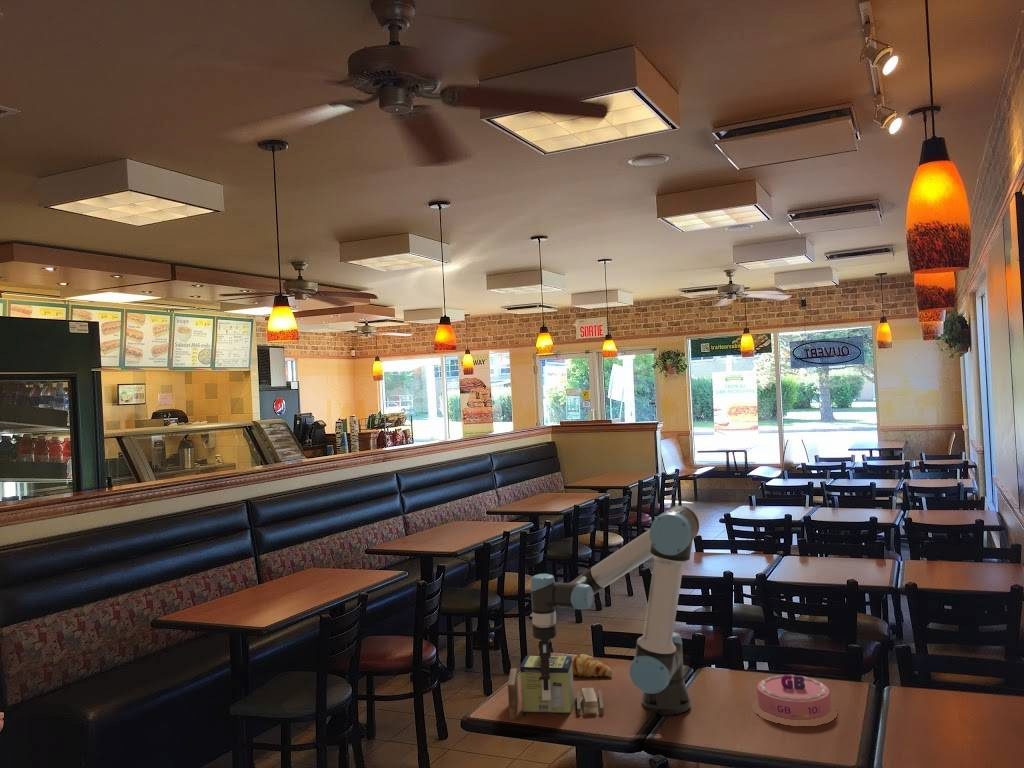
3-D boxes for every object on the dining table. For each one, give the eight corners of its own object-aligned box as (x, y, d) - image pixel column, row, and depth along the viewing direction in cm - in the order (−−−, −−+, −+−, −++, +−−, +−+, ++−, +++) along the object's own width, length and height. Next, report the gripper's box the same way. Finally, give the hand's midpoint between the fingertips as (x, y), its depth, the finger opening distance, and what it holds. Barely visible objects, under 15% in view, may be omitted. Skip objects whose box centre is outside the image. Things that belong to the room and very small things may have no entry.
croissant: (616, 684, 279) (619, 661, 282) (605, 680, 271) (609, 655, 274) (561, 675, 289) (565, 652, 292) (550, 670, 281) (554, 647, 285)
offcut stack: (596, 697, 257) (595, 686, 257) (597, 713, 245) (597, 701, 245) (582, 698, 257) (581, 687, 257) (583, 713, 245) (582, 701, 245)
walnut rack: (601, 699, 257) (599, 665, 257) (603, 717, 243) (601, 681, 243) (512, 702, 259) (510, 668, 259) (509, 720, 245) (507, 684, 245)
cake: (751, 724, 234) (749, 688, 234) (751, 692, 258) (749, 659, 258) (843, 730, 227) (840, 693, 227) (833, 696, 251) (831, 662, 251)
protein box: (527, 702, 258) (525, 655, 258) (575, 704, 255) (572, 655, 255) (521, 716, 248) (519, 666, 248) (571, 717, 245) (568, 667, 245)
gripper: (533, 612, 264) (536, 676, 264) (530, 637, 239) (533, 707, 239) (556, 612, 264) (559, 676, 264) (555, 636, 239) (558, 706, 239)
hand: (547, 691), depth 252 cm, fingers open, 13 cm apart
